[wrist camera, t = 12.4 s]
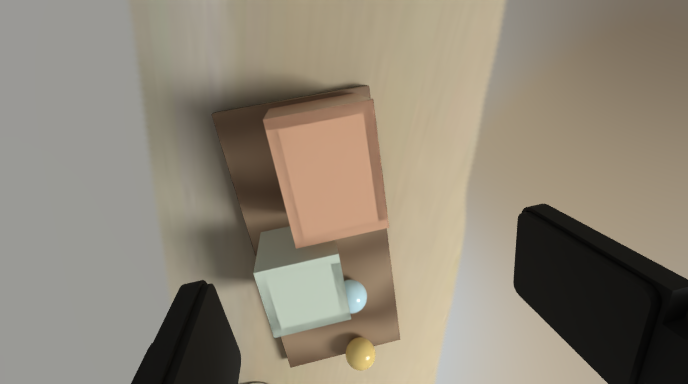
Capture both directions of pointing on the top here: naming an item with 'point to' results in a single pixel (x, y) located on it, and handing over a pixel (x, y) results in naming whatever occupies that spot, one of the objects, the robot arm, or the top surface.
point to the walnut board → (270, 213)
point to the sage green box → (299, 283)
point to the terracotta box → (328, 167)
